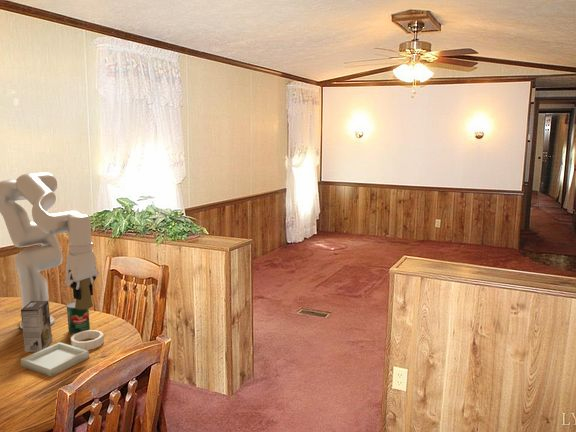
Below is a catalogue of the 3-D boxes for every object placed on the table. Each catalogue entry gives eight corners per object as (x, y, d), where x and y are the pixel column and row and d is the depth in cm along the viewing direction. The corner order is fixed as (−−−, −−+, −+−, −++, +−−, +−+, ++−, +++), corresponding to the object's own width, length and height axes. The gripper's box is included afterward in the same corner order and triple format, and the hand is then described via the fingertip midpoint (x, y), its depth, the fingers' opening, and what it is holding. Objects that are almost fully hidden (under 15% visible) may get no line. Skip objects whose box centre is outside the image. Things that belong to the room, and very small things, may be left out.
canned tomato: (77, 335, 186) (75, 308, 184) (64, 331, 190) (61, 305, 188) (94, 328, 193) (92, 302, 191) (81, 324, 197) (79, 299, 195)
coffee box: (35, 341, 181) (31, 300, 178) (52, 340, 182) (49, 300, 179) (24, 352, 172) (19, 309, 169) (42, 351, 173) (38, 309, 170)
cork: (86, 310, 174) (84, 281, 171) (71, 308, 175) (69, 279, 173) (96, 304, 179) (94, 276, 177) (81, 302, 181) (80, 274, 178)
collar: (65, 346, 177) (64, 338, 176) (89, 335, 187) (89, 328, 186) (85, 352, 172) (85, 344, 171) (109, 341, 182) (109, 333, 181)
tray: (21, 366, 162) (20, 359, 162) (60, 348, 175) (59, 342, 175) (50, 376, 155) (50, 369, 155) (89, 357, 168) (88, 350, 168)
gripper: (92, 242, 182) (94, 288, 185) (52, 252, 167) (56, 302, 171) (106, 245, 179) (108, 291, 182) (67, 255, 164) (70, 306, 167)
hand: (83, 296), depth 176 cm, fingers closed on cork, 4 cm apart
